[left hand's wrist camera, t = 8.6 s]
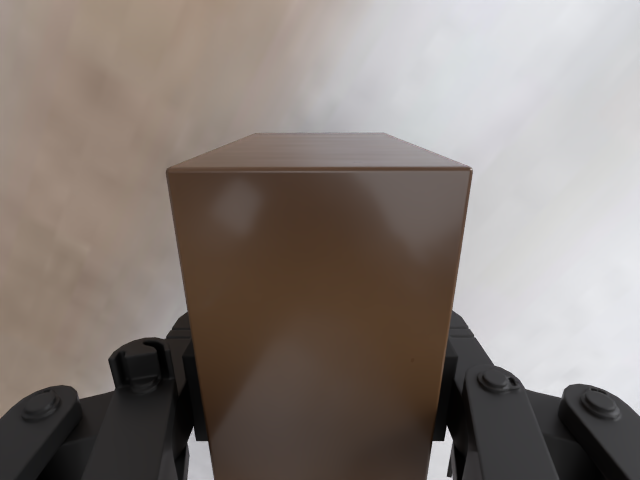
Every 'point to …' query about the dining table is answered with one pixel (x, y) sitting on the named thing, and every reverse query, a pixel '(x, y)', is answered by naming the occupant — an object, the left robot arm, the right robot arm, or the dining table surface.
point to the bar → (319, 300)
